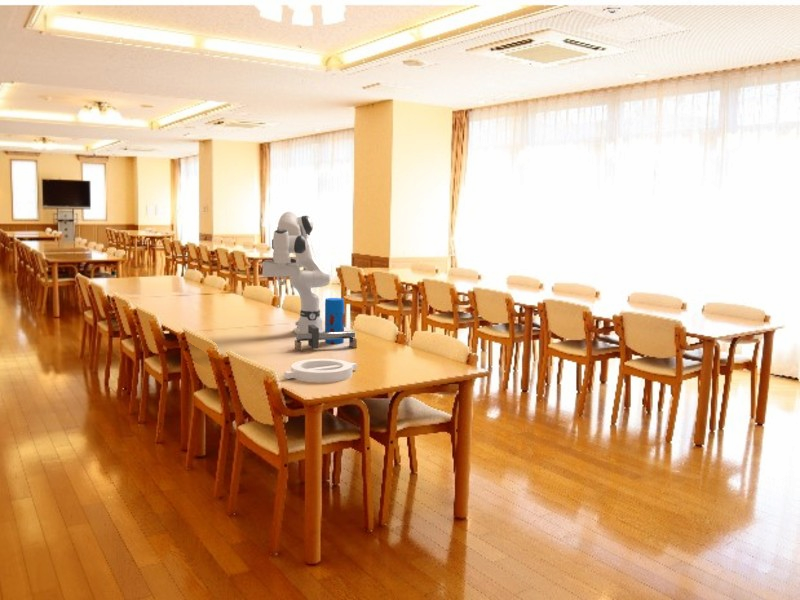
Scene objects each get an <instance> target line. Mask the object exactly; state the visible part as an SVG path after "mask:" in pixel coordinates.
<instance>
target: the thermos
mask: <svg viewBox="0 0 800 600" xmlns="http://www.w3.org/2000/svg"><path fill="white" fill-rule="evenodd" d="M324 330H325V332H342V331H345V298H341V297H329V298H325V300H324ZM344 340H345V339H328V340H324V341H325V343H326V344H328V345H340V344H343V343H344V342H345V341H344Z"/></svg>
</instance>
